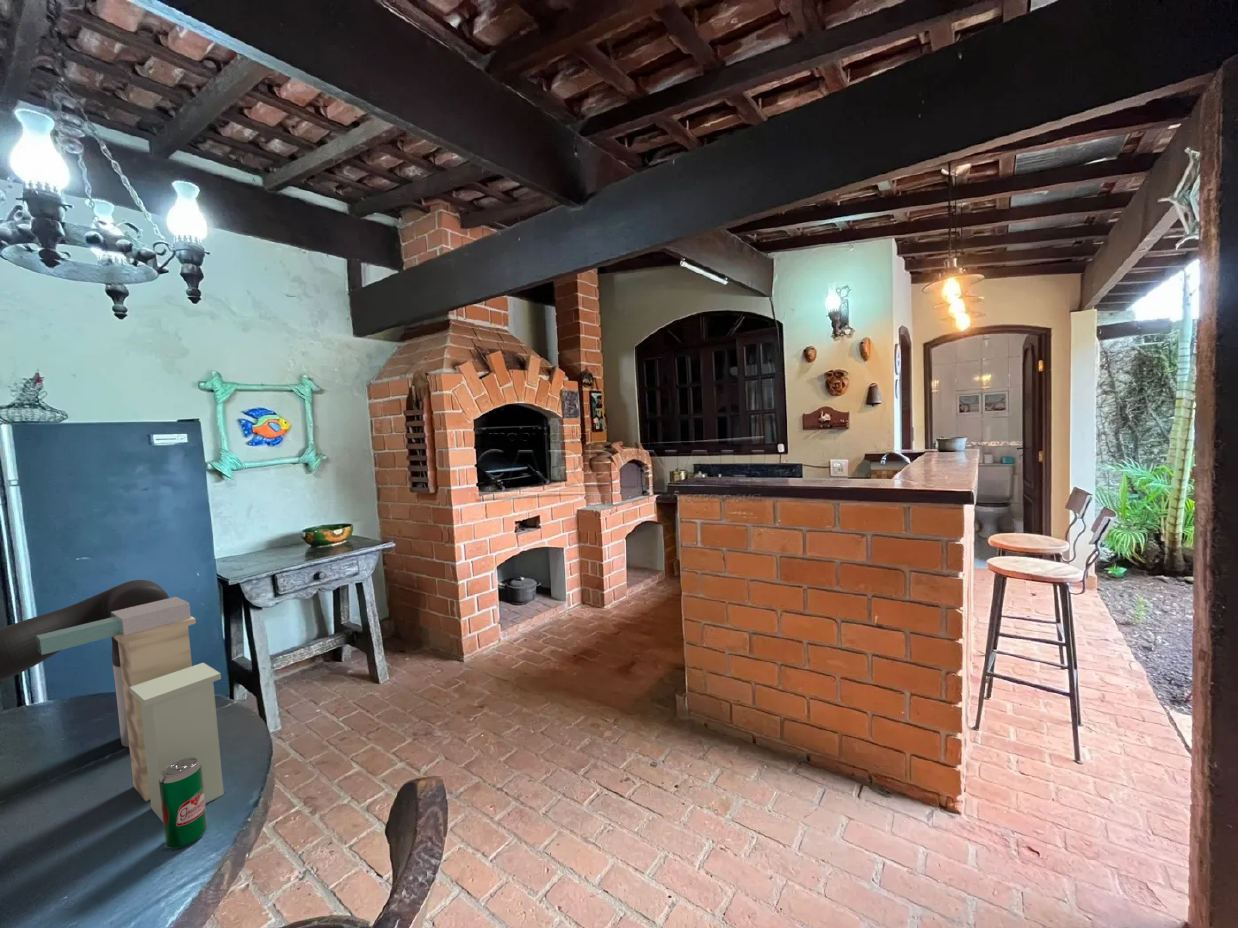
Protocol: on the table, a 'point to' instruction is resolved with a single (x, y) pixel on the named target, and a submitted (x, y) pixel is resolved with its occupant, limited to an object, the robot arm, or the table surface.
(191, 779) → the soda can
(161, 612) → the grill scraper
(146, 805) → the table surface
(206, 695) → the low stand
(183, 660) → the high stand
